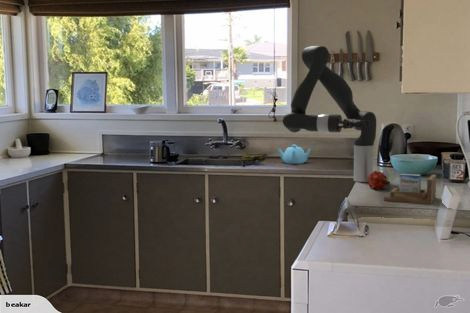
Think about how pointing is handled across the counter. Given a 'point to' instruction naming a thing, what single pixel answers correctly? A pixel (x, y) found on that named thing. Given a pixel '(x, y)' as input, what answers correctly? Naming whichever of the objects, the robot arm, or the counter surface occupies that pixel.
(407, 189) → the medicine box
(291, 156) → the teapot
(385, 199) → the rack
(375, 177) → the dragon fruit
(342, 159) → the counter surface
